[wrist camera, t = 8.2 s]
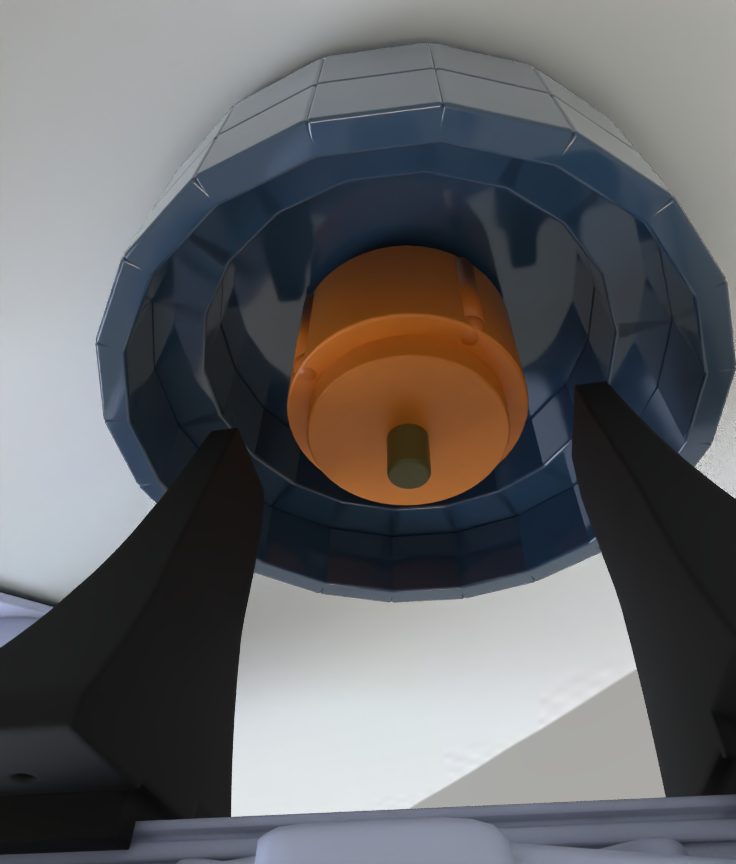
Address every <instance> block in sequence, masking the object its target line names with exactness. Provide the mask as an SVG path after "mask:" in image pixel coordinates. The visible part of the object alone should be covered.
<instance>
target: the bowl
mask: <svg viewBox="0 0 736 864" xmlns="http://www.w3.org/2000/svg"><path fill="white" fill-rule="evenodd" d="M406 245H407V246H423V247H428V248H434V249H438V250H441V251H444V252H448V253H451V254H453V255H455V256H457V257H462V258H465V259H467V260H468V261H470V263H471V264H472V265H473V266H475V267H476V268H477V269H478V270H480V271H481V272H482V273H483V274H484V275H485V276H487V278H488V279H489V280H490V281H491V282H492V283H493V285H494V286H495V287H496V289H497V290H498V292H499V294H500V295H501V297H502V299H503V301H504V304H505V306H506V309H507V312H508V316H509V320H510V324H511V328H512V331H513V335H514V339H515V343H516V347H517V351H518V354H519V358H520V362H521V366H522V370H523V373H524V377H525V381H526V385H527V389H528V400H529V405H528V415H527V419H526V422H525V426H524V429H523V431H522V433H521V435H520V437H519V439H518V441H517V442H516V444H515V446H514V447H513V449H512V450H511V451H510V452H509V454H508V455H507V456H506V457H505V458H504V459H503V460H502V461H501V462H500V463H499V464H498V465H497V466H496V467H495V468H494V469H493V471H492V472H491V473H490V474H489V475H488V476H487V477H486V478H484V479H483V480H482V481H481V482H479V483H478V484H477V485H475V486H474V487H472V488H470V489H468V490H467V491H465V492H463V493H461V494H458V495H456V496H454V497H451V498H448V499H445V500H442V501H437V502H433V503H427V504H420V505H392V504H385V503H379V502H375V501H371V500H368V499H364V498H361V497H359V496H356V495H354V494H352V493H350V492H348V491H346V490H344V489H343V488H341V487H339V486H338V485H337V484H335V483H334V482H333V481H331V480H330V479H329V478H328V477H327V476H326V475H325V474H324V473H323V472H322V471H321V470H320V469H318V468H317V467H316V466H315V465H314V464H313V463H312V462H311V461H310V460H309V459H308V458H307V457H306V455H305V454H304V453H303V452H302V450H301V449H300V447H299V445H298V444H297V442H296V440H295V438H294V436H293V433H292V431H291V428H290V425H289V420H288V416H287V399H288V391H289V385H290V380H291V374H292V368H293V362H294V357H295V351H296V345H297V340H298V334H299V328H300V322H301V317H302V311H303V305H304V302H305V299H306V298H307V297H308V296H309V295H310V294H312V293H313V292H314V290H315V289H316V287H317V286H318V285H319V284H320V283H321V282H322V281H323V279H324V278H325V277H326V276H328V275H329V274H330V273H331V272H332V271H333V270H335V269H336V268H337V267H339V266H340V265H342V264H344V263H345V262H347V261H348V260H350V259H352V258H355V257H357V256H359V255H361V254H364V253H367V252H370V251H373V250H376V249H381V248H386V247H392V246H406ZM96 353H97V362H98V371H99V380H100V389H101V398H102V407H103V416H104V419H105V423H106V425H107V427H108V429H109V431H110V433H111V435H112V437H113V438H114V440H115V442H116V444H117V446H118V448H119V450H120V452H121V454H122V455H123V457H124V459H125V461H126V463H127V465H128V467H129V469H130V471H131V472H132V474H133V476H134V478H135V480H136V482H137V484H139V485H140V488H141V489H142V490H143V491H144V492H145V493H147V494H148V495H149V496H150V497H151V498H152V499H153V500H154V501H155V502H156V503H158V502H159V500H160V499H161V498H162V496H163V495H164V494H165V492H166V491H167V490H168V489H169V487H170V486H171V485H172V483H173V482H174V481H175V479H176V478H177V477H178V475H179V474H180V473H181V471H182V470H183V469H184V467H185V466H186V465H187V463H188V462H189V461H190V459H191V458H192V456H193V455H194V454H195V452H196V451H197V450H198V448H199V447H200V446H201V444H202V443H203V442H204V440H205V439H206V438H207V436H208V435H209V434H210V432H211V431H214V430H222V429H230V428H238V429H239V431H240V433H241V436H242V438H243V441H244V443H245V445H246V448H247V450H248V453H249V455H250V457H251V460H252V462H253V465H254V467H255V469H256V472H257V474H258V477H259V479H260V481H261V484H262V486H263V489H264V507H263V522H262V533H261V538H260V544H259V549H258V554H257V559H256V564H255V569H254V573H257V574H260V575H263V576H266V577H269V578H273V579H276V580H279V581H282V582H285V583H288V584H291V585H294V586H297V587H300V588H304V589H307V590H310V591H313V592H316V593H320V592H321V594H326V595H334V596H342V597H350V598H358V599H366V600H374V601H382V602H391V601H392V602H413V601H432V600H451V599H463V598H470V597H474V596H478V595H482V594H487V593H491V592H495V591H499V590H503V589H508V588H512V587H516V586H520V585H525V584H529V583H533V582H535V581H539V580H541V579H543V578H546V577H548V576H550V575H552V574H554V573H557V572H559V571H561V570H563V569H565V568H568V567H570V566H572V565H574V564H576V563H579V562H581V561H583V560H585V559H587V558H590V557H592V556H594V555H596V554H598V553H601V550H600V547H599V544H598V542H597V539H596V537H595V534H594V531H593V529H592V526H591V523H590V521H589V518H588V515H587V512H586V510H585V507H584V504H583V501H582V499H581V495H580V491H579V487H578V483H577V478H576V474H575V470H574V465H573V461H572V456H571V455H572V433H573V411H574V389H575V385H580V384H588V383H596V382H604V381H606V382H607V383H608V384H610V385H611V386H612V387H613V389H614V390H615V391H616V392H617V393H618V394H619V395H620V396H621V397H622V398H623V400H624V401H625V402H626V403H627V404H628V405H629V406H630V407H631V408H632V409H633V410H634V411H635V412H636V413H637V414H638V415H639V416H640V417H641V418H642V419H643V420H644V421H645V422H646V423H647V424H648V425H649V426H650V427H651V428H652V429H653V430H654V431H655V432H656V433H657V434H658V435H659V436H660V437H661V438H662V439H663V440H664V441H665V442H667V443H668V444H669V445H670V446H671V447H672V448H673V449H674V450H675V451H676V452H677V453H679V454H680V455H681V456H682V457H683V458H684V459H685V460H687V461H688V462H689V463H690V464H691V465H692V466H694V467H695V465H696V464H697V463H698V462H699V460H700V459H701V458H702V456H703V455H704V454H705V452H706V451H707V450H708V448H709V447H710V446H711V443H712V442H713V439H714V436H715V433H716V430H717V426H718V423H719V420H720V417H721V414H722V411H723V408H724V405H725V401H726V398H727V395H728V392H729V389H730V386H731V383H732V380H733V376H734V373H735V370H736V368H735V366H736V358H735V348H734V339H733V330H732V321H731V311H730V302H729V293H728V284H727V282H726V280H725V276H724V274H723V272H722V271H721V269H720V268H719V266H718V264H717V263H716V261H715V260H714V258H713V257H712V255H711V253H710V252H709V250H708V249H707V247H706V245H705V244H704V242H703V241H702V239H701V237H700V236H699V234H698V233H697V231H696V229H695V228H694V226H693V225H692V223H691V221H690V220H689V218H688V217H687V215H686V213H685V212H684V210H683V209H682V207H681V205H680V204H679V202H678V201H677V199H676V198H675V196H674V195H673V194H672V193H671V192H670V190H669V189H668V188H667V187H666V185H665V184H664V183H663V182H662V181H661V179H660V178H659V177H658V176H657V175H656V173H655V172H654V171H653V170H652V168H651V167H650V166H649V165H648V164H647V162H646V161H645V160H644V159H643V158H642V157H641V155H640V154H639V153H638V152H637V150H636V149H635V148H634V147H633V145H632V144H631V143H630V142H629V141H628V139H627V138H626V137H625V136H624V134H623V133H622V132H621V131H620V130H619V128H618V127H617V126H616V125H615V124H614V123H613V122H612V121H611V120H610V119H609V118H608V117H607V116H605V115H604V114H602V113H601V112H599V111H598V110H596V109H595V108H593V107H592V106H591V105H589V104H588V103H586V102H585V101H583V100H582V99H580V98H579V97H577V96H576V95H575V94H573V93H572V92H570V91H569V90H567V89H566V88H564V87H563V86H561V85H560V84H559V83H557V82H556V81H554V80H553V79H551V78H550V77H548V76H547V75H545V74H544V73H543V72H541V71H540V70H538V69H537V68H532V67H531V66H530V65H529V64H524V63H520V62H515V61H511V60H507V59H502V58H498V57H493V56H489V55H485V54H480V53H476V52H472V51H467V50H463V49H458V48H454V47H450V46H445V45H441V44H436V43H430V45H429V43H419V44H412V45H404V46H397V47H390V48H382V49H375V50H368V51H361V52H353V53H346V54H339V55H331V56H326V57H325V59H323V58H320V59H318V60H316V61H314V62H313V63H311V64H309V65H307V66H305V67H303V68H301V69H299V70H298V71H296V72H294V73H292V74H290V75H288V76H286V77H285V78H283V79H281V80H279V81H277V82H275V83H273V84H272V85H270V86H268V87H266V88H264V89H262V90H260V91H258V92H257V93H255V94H253V95H251V96H249V97H247V98H245V99H244V100H242V101H240V102H238V103H237V104H236V105H235V106H233V107H232V108H231V109H230V110H229V111H228V112H227V113H226V114H225V116H224V117H223V118H222V119H221V120H220V121H219V123H218V124H217V125H216V126H215V127H214V128H213V130H212V131H211V132H210V133H209V134H208V135H207V137H206V138H205V139H204V140H203V141H202V142H201V143H200V145H199V146H198V147H197V148H196V149H195V150H194V152H193V153H192V154H191V155H190V156H189V157H188V159H187V160H186V161H185V162H184V163H183V164H182V165H181V167H180V168H179V169H178V170H177V171H176V173H175V174H174V176H173V177H172V179H171V181H170V182H169V184H168V185H167V187H166V189H165V190H164V192H163V193H162V195H161V196H160V198H159V200H158V201H157V203H156V204H155V206H154V208H153V209H152V211H151V212H150V214H149V215H148V217H147V219H146V220H145V222H144V223H143V225H142V226H141V228H140V230H139V231H138V233H137V234H136V236H135V238H134V239H133V241H132V242H131V244H130V245H129V247H128V249H127V250H126V252H125V254H124V255H123V257H122V259H121V261H120V265H119V268H118V271H117V274H116V277H115V280H114V283H113V286H112V290H111V293H110V296H109V299H108V302H107V305H106V308H105V311H104V315H103V318H102V321H101V324H100V327H99V330H98V333H97V336H96Z"/></svg>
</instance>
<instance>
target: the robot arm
mask: <svg viewBox="0 0 736 864" xmlns="http://www.w3.org/2000/svg"><path fill="white" fill-rule="evenodd" d="M571 456H572V461H573V465H574V470H575V474H576V478H577V483H578V487H579V491H580V495H581V499H582V501H583V504H584V507H585V510H586V512H587V515H588V518H589V521H590V523H591V526H592V529H593V531H594V534H595V537H596V539H597V542H598V544H599V547H600V550H601V552H602V555H603V558H604V560H605V563H606V566H607V568H608V571H609V574H610V576H611V579H612V582H613V584H614V587H615V590H616V593H617V596H618V599H619V602H620V605H621V608H622V612H623V616H624V620H625V623H626V627H627V631H628V635H629V639H630V643H631V647H632V650H633V654H634V659H635V663H636V667H637V671H638V674H639V679H640V683H641V687H642V691H643V695H644V700H645V704H646V708H647V713H648V717H649V721H650V726H651V730H652V735H653V739H654V743H655V748H656V752H657V757H658V762H659V767H660V771H661V776H662V780H663V785H664V790H665V795H666V797H665V798H644V799H621V800H600V801H599V800H598V801H576V802H554V803H533V804H512V805H511V804H510V805H489V806H488V805H487V806H467V807H466V806H465V807H443V808H421V809H398V810H376V811H354V812H332V813H310V814H287V815H265V816H243V817H231V785H232V754H233V733H234V715H235V701H236V687H237V675H238V664H239V654H240V643H241V635H242V629H243V623H244V617H245V612H246V607H247V603H248V598H249V593H250V588H251V583H252V578H253V574H254V569H255V564H256V559H257V554H258V549H259V544H260V538H261V533H262V522H263V507H264V489H263V486H262V484H261V481H260V479H259V477H258V474H257V472H256V469H255V467H254V465H253V462H252V460H251V457H250V455H249V453H248V450H247V448H246V445H245V443H244V441H243V438H242V436H241V433H240V431H239V429H238V428H230V429H222V430H214V431H211V432H210V434H209V435H208V436H207V438H206V439H205V440H204V442H203V443H202V444H201V446H200V447H199V448H198V450H197V451H196V452H195V454H194V455H193V456H192V458H191V459H190V461H189V462H188V463H187V465H186V466H185V467H184V469H183V470H182V471H181V473H180V474H179V475H178V477H177V478H176V479H175V481H174V482H173V483H172V485H171V486H170V487H169V489H168V490H167V491H166V492H165V494H164V495H163V496H162V498H161V499H160V500H159V502H158V503H157V504H156V505H155V506H154V508H153V509H152V510H151V511H150V512H149V513H148V515H147V516H146V517H145V518H144V519H143V521H142V522H141V523H140V524H139V525H138V527H137V528H136V529H135V530H134V531H133V532H132V534H131V535H130V536H129V537H128V538H127V539H126V540H125V541H124V542H123V543H122V544H121V546H120V547H119V548H118V549H117V550H116V551H115V552H114V553H113V554H112V555H111V556H110V557H109V558H108V559H107V560H106V561H105V562H104V563H103V564H102V565H101V566H100V567H99V568H98V569H97V570H96V571H95V572H94V573H92V574H91V575H90V576H89V577H88V578H87V579H86V580H85V581H84V582H82V583H81V584H80V585H79V586H78V587H77V588H76V589H74V590H73V591H72V592H71V593H70V594H69V595H68V596H66V597H65V598H64V599H63V600H62V601H61V602H60V603H58V604H57V605H56V606H55V607H52V606H48V605H45V604H41V603H38V602H34V601H30V600H27V599H23V598H20V597H16V596H12V595H9V594H5V593H1V592H0V864H736V499H735V498H734V497H732V496H731V495H729V494H728V493H727V492H725V491H724V490H723V489H721V488H720V487H719V486H717V485H716V484H715V483H713V482H712V481H711V480H710V479H708V478H707V477H706V476H705V475H703V474H702V473H701V472H700V471H699V470H697V469H696V468H695V467H694V466H692V465H691V464H690V463H689V462H688V461H687V460H685V459H684V458H683V457H682V456H681V455H680V454H679V453H677V452H676V451H675V450H674V449H673V448H672V447H671V446H670V445H669V444H668V443H667V442H665V441H664V440H663V439H662V438H661V437H660V436H659V435H658V434H657V433H656V432H655V431H654V430H653V429H652V428H651V427H650V426H649V425H648V424H647V423H646V422H645V421H644V420H643V419H642V418H641V417H640V416H639V415H638V414H637V413H636V412H635V411H634V410H633V409H632V408H631V407H630V406H629V405H628V404H627V403H626V402H625V401H624V400H623V398H622V397H621V396H620V395H619V394H618V393H617V392H616V391H615V390H614V389H613V387H612V386H611V385H610V384H608V383H607V382H606V381H604V382H596V383H588V384H580V385H575V389H574V411H573V433H572V455H571Z"/></svg>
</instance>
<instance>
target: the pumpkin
mask: <svg viewBox="0 0 736 864" xmlns="http://www.w3.org/2000/svg"><path fill="white" fill-rule="evenodd" d="M528 405H529V400H528V389H527V385H526V381H525V377H524V373H523V370H522V366H521V362H520V358H519V354H518V351H517V347H516V343H515V339H514V335H513V331H512V328H511V324H510V320H509V316H508V312H507V309H506V306H505V304H504V301H503V299H502V297H501V295H500V294H499V292H498V290H497V289H496V287H495V286H494V285H493V283H492V282H491V281H490V280H489V279H488V278H487V276H485V275H484V274H483V273H482V272H481V271H480V270H478V269H477V268H476V267H475V266H473V265H472V264H471V263H470V261H468V260H467V259H465V258H462V257H457V256H455V255H453V254H451V253H448V252H444V251H441V250H438V249H434V248H428V247H423V246H407V245H406V246H392V247H386V248H381V249H376V250H373V251H370V252H367V253H364V254H361V255H359V256H357V257H355V258H352V259H350V260H348V261H347V262H345V263H344V264H342V265H340V266H339V267H337V268H336V269H335V270H333V271H332V272H331V273H330V274H329V275H328V276H326V277H325V278H324V279H323V281H322V282H321V283H320V284H319V285H318V286H317V287H316V289H315V290H314V292H313V293H312V294H310V295H309V296H308V297H307V298H306V299H305V302H304V305H303V311H302V317H301V322H300V328H299V334H298V340H297V345H296V351H295V357H294V362H293V368H292V374H291V380H290V385H289V391H288V399H287V416H288V420H289V425H290V428H291V431H292V433H293V436H294V438H295V440H296V442H297V444H298V445H299V447H300V449H301V450H302V452H303V453H304V454H305V455H306V457H307V458H308V459H309V460H310V461H311V462H312V463H313V464H314V465H315V466H316V467H317V468H318V469H320V470H321V471H322V472H323V473H324V474H325V475H326V476H327V477H328V478H329V479H330V480H331V481H333V482H334V483H335V484H337V485H338V486H339V487H341V488H343V489H344V490H346V491H348V492H350V493H352V494H354V495H356V496H359V497H361V498H364V499H368V500H371V501H375V502H379V503H385V504H392V505H420V504H427V503H433V502H437V501H442V500H445V499H448V498H451V497H454V496H456V495H458V494H461V493H463V492H465V491H467V490H468V489H470V488H472V487H474V486H475V485H477V484H478V483H479V482H481V481H482V480H483V479H484V478H486V477H487V476H488V475H489V474H490V473H491V472H492V471H493V469H494V468H495V467H496V466H497V465H498V464H499V463H500V462H501V461H502V460H503V459H504V458H505V457H506V456H507V455H508V454H509V452H510V451H511V450H512V449H513V447H514V446H515V444H516V442H517V441H518V439H519V437H520V435H521V433H522V431H523V429H524V426H525V422H526V419H527V415H528Z"/></svg>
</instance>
